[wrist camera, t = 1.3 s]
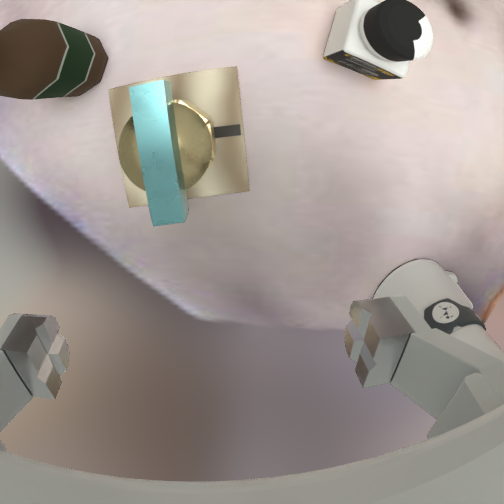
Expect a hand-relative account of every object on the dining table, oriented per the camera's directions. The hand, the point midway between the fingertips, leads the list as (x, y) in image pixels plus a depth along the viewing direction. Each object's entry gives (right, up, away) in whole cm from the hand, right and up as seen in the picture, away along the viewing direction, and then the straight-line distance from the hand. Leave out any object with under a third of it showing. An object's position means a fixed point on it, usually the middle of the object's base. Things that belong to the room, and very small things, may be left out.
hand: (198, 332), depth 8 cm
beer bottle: (-18, +24, +20) cm, 36 cm away
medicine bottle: (+13, +26, +22) cm, 36 cm away
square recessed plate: (-7, +15, +25) cm, 30 cm away
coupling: (-6, +14, +23) cm, 27 cm away
